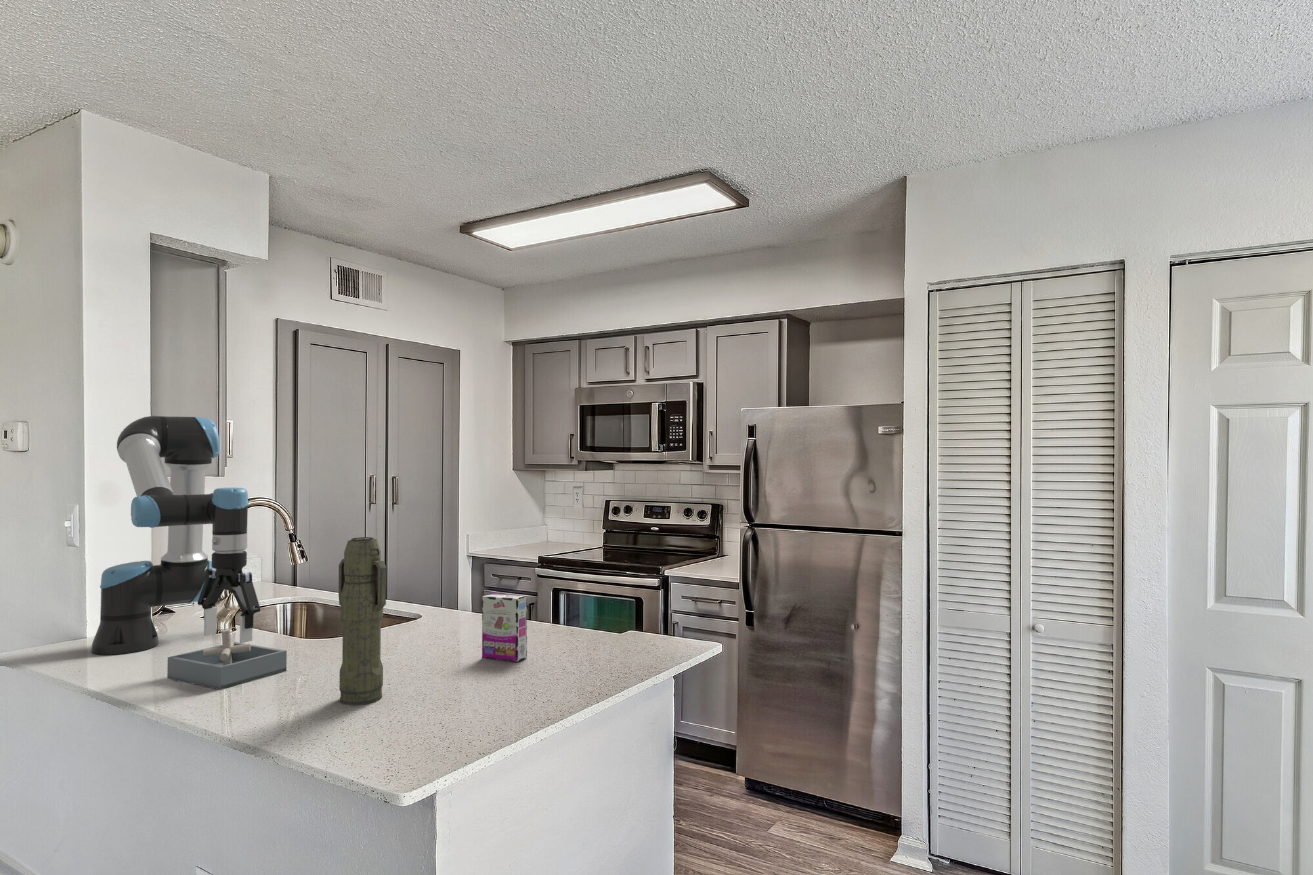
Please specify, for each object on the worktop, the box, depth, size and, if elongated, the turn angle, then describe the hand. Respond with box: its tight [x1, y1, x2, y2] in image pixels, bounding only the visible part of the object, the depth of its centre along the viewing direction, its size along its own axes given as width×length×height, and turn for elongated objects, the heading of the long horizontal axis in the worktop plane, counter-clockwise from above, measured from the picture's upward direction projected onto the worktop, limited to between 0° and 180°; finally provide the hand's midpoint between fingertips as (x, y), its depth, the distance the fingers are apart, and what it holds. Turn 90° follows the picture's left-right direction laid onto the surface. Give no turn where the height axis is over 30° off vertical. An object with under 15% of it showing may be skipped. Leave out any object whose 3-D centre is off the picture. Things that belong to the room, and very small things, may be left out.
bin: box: [166, 641, 288, 690], centre depth 186 cm, size 20×17×5 cm
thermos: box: [338, 536, 388, 706], centre depth 168 cm, size 9×12×35 cm
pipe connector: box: [203, 628, 251, 666], centre depth 186 cm, size 10×10×10 cm
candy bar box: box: [481, 593, 528, 663], centre depth 201 cm, size 11×5×16 cm, turn 68°
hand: (227, 638), depth 187 cm, fingers open, 13 cm apart
